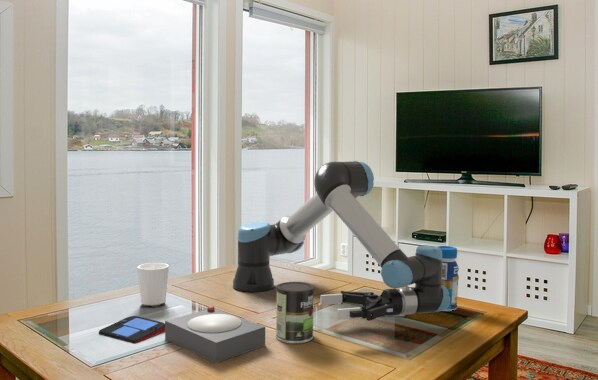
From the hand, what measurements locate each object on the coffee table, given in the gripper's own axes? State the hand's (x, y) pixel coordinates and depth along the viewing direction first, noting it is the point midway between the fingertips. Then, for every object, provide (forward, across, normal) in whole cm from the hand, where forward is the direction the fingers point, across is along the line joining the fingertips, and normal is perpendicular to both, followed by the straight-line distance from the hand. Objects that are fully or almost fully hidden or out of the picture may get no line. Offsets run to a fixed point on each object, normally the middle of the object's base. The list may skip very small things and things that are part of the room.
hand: (328, 306), depth 145 cm
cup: (+46, -39, +8) cm, 61 cm away
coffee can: (+10, 0, +8) cm, 12 cm away
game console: (+52, -15, +8) cm, 55 cm away
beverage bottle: (-45, -13, +8) cm, 48 cm away
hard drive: (-26, -16, +8) cm, 31 cm away
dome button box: (+31, -1, +8) cm, 32 cm away
